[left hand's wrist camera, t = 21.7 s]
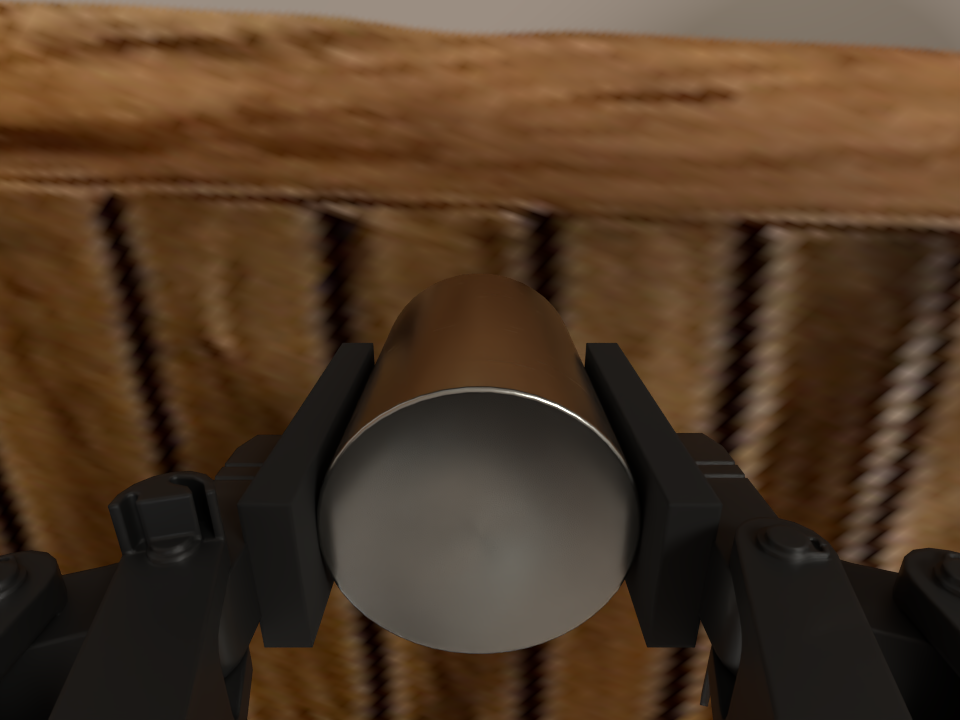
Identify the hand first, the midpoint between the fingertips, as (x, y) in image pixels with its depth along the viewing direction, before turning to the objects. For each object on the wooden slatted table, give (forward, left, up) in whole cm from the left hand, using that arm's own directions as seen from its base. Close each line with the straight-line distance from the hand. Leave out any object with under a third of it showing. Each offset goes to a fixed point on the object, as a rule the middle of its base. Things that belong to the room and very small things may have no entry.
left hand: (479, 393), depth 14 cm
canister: (0, 0, -2) cm, 2 cm away
